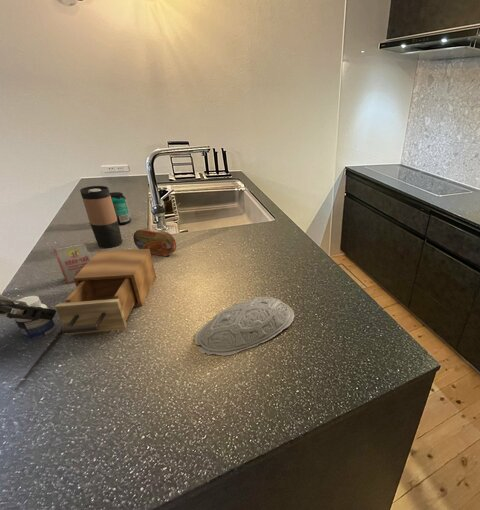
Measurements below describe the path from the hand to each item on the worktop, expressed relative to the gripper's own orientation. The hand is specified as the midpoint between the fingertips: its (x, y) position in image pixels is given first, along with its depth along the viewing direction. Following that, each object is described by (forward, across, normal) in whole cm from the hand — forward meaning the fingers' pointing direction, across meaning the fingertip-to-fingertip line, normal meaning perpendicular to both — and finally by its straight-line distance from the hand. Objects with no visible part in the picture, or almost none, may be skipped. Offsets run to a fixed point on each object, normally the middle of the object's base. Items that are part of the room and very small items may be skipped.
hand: (42, 311), depth 67 cm
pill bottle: (+3, 0, -5) cm, 6 cm away
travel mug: (+32, -27, +24) cm, 48 cm away
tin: (+32, -8, +24) cm, 41 cm away
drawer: (+8, +8, +1) cm, 11 cm away
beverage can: (+44, -40, +35) cm, 69 cm away
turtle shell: (+16, +40, +8) cm, 44 cm away
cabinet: (+16, +2, +8) cm, 19 cm away
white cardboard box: (+18, -16, +9) cm, 26 cm away
